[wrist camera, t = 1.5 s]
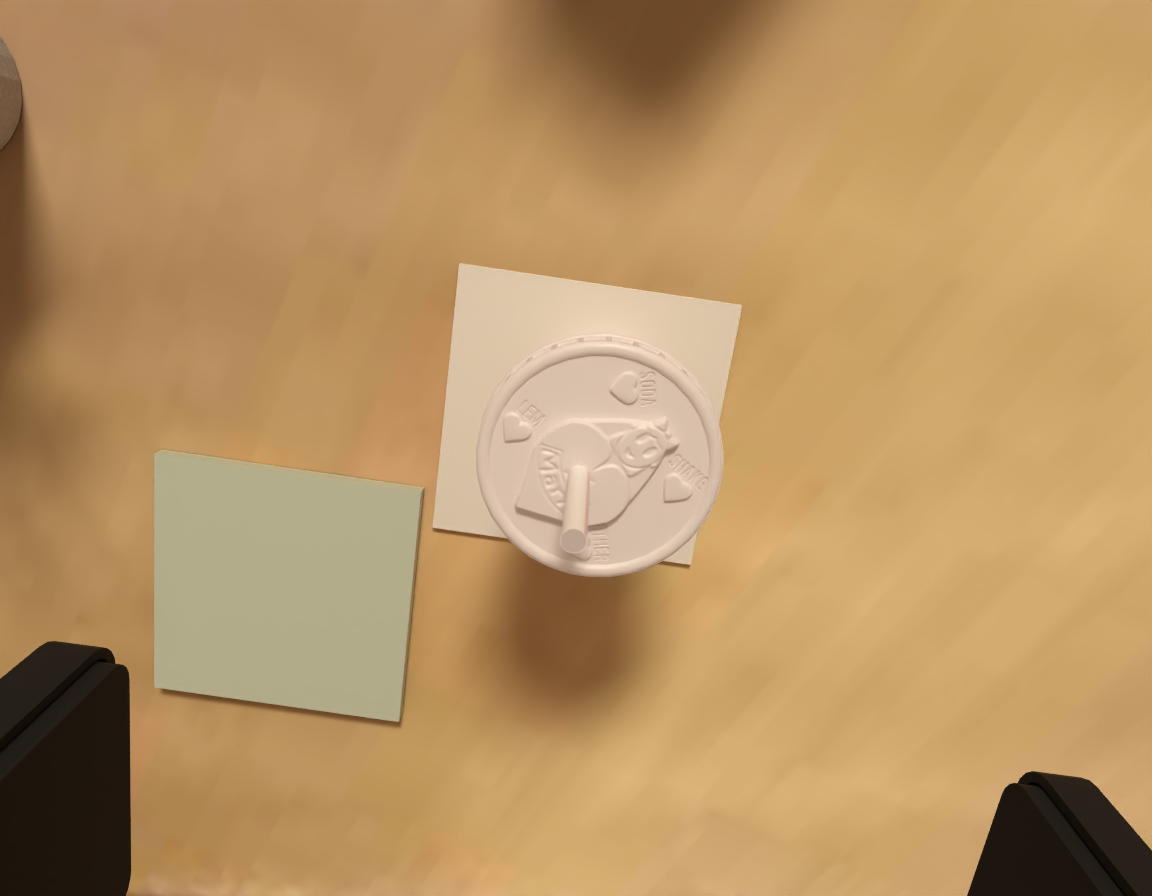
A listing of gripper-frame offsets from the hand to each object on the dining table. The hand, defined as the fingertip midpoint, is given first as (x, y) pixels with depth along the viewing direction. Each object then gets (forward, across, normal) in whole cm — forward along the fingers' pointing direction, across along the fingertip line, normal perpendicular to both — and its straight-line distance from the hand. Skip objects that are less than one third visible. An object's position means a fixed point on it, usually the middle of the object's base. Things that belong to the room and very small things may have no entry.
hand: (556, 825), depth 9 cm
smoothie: (+23, -1, 0) cm, 23 cm away
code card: (+23, 0, +2) cm, 23 cm away
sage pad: (+23, +10, +10) cm, 27 cm away
